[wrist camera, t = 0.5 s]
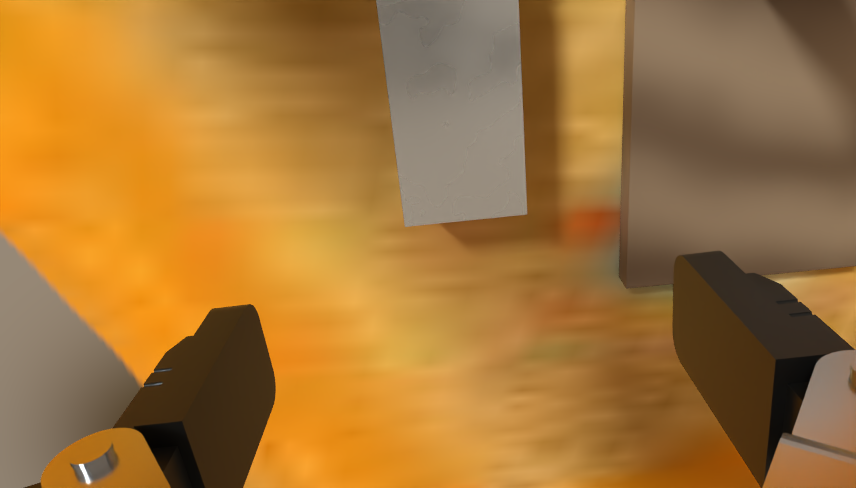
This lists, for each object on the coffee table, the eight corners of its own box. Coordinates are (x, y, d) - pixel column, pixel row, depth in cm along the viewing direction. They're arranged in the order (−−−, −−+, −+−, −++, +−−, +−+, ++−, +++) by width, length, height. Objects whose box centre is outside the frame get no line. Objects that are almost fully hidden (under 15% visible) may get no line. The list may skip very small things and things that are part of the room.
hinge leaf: (343, -204, 23) (329, -233, 20) (507, -223, 23) (524, -257, 19) (395, 194, 30) (392, 228, 26) (524, 181, 29) (539, 213, 26)
